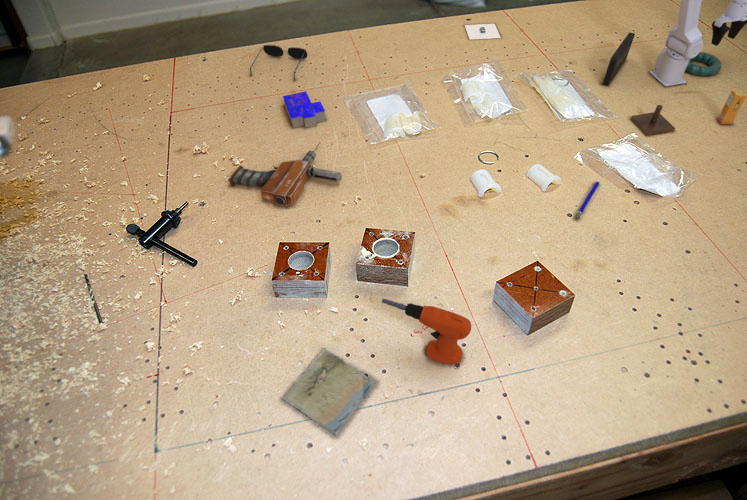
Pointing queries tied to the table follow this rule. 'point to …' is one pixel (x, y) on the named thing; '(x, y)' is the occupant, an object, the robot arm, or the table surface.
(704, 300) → the table surface
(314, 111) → the blue grey stepped block
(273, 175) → the tool
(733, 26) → the robot arm
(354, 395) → the topographic map
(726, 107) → the supplement box
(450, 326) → the toy drill
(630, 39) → the nameplate
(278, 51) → the sunglasses
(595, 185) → the pencil
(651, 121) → the stand
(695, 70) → the ring
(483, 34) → the white square panel
